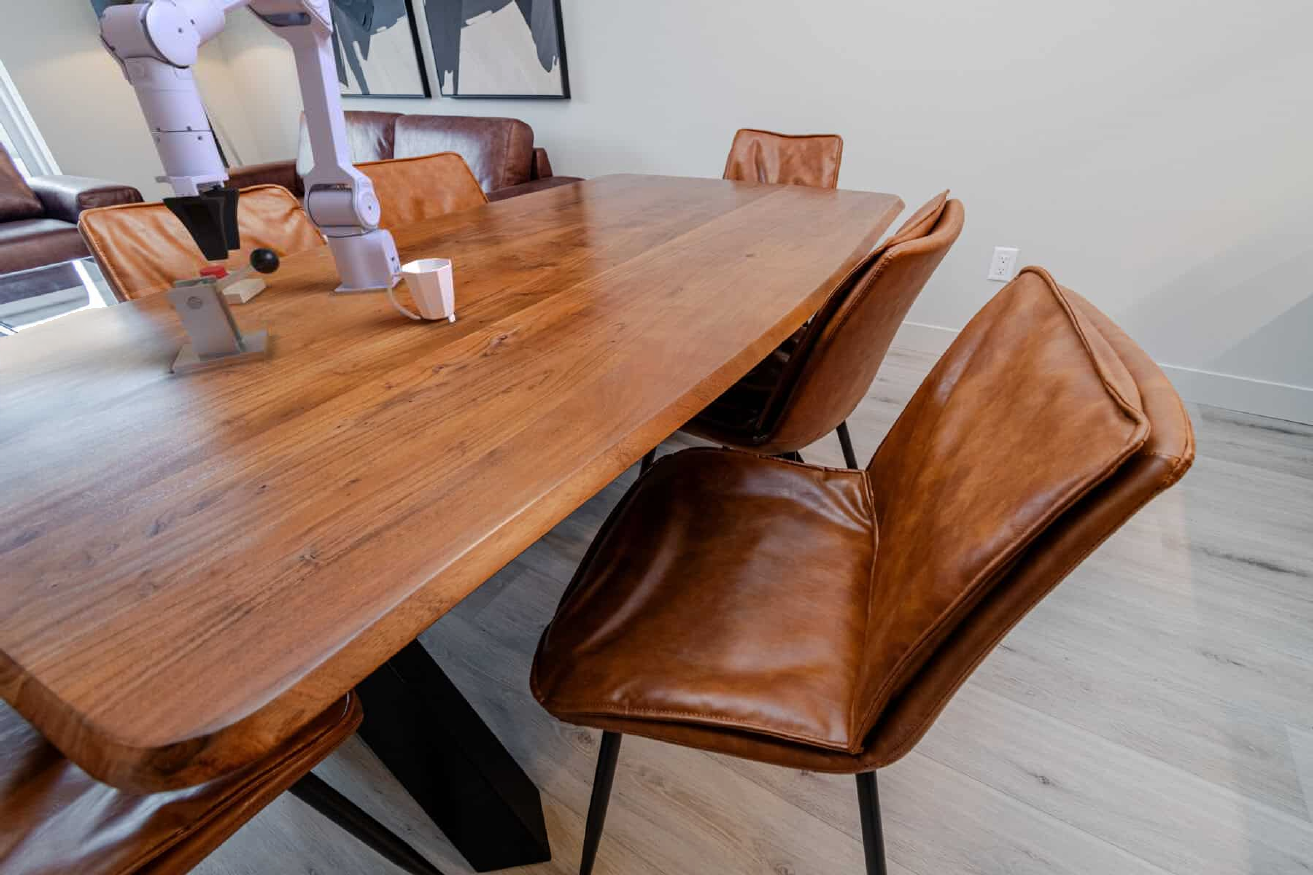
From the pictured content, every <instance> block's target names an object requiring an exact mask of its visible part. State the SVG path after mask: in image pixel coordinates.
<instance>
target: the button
mask: <svg viewBox="0 0 1313 875" xmlns="http://www.w3.org/2000/svg"><path fill="white" fill-rule="evenodd" d="M226 271H227V270H226V266H224V265H212V266H207V267H204V268H201V269H199V270H198V273H199V276H201V277H203V276H210V275H215V276H216V278H217V280H218V279H222V278H224V277H226V276H227V275H228V274H227V272H226Z"/></svg>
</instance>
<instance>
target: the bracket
mask: <svg viewBox="0 0 1313 875" xmlns="http://www.w3.org/2000/svg"><path fill="white" fill-rule="evenodd" d="M201 281H203V282H204V283H205V284H202V285H196V284H197V283H199V282H201ZM216 281H218V280H217V278H216V276H215V275H210V276H203V277H199V276H197V277H192V278H185V279H178V280H174V281H173V286H174V288H171V289H170V288H169V289H168V290H167V291H166V294H167V296H168V298H169V300H170V302H171V303H172V306H173V308H174V309H175V312H176V314H177V316H178V317H179V320H180V322H181V323H182V326H183V328H184V329H185V332H186V334H187V336H188V338H189V339H190V342H191V343H187V344H183V345H182V347H181V348H180V351H179V352H178V354H177V356H176V358H175V361H174V362H173V364H172V366H171V370H172V371H173V373H174V374H178V373H183V372H190V371H194V370H198V369H204V368H208V367H209V368H210V367H214V366H219V365H224V364H229V363H234V362H239V361H240V362H241V361H244V360H250V359H254V358H259V357H260V358H261V357H265V356H266V353H267V349H268V344H269V339H270V333H269V331H268V329H263V330H259V331H258V330H257V331H253V332H247V333H243V334H242V332H241V329H240V328H239V327H240V326H239V325H238V322H237V321H236V318H235V316H234V314H233V311H232V310H231V307H230V304H228V303H227V300H226V298H225V296H224V294H223V292H222V291H220V292H218V293H216V294H215V292H214V290H213V288H212V285H211V284H213V283H214V282H216ZM194 285H195V286H194Z"/></svg>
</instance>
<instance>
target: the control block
mask: <svg viewBox="0 0 1313 875" xmlns="http://www.w3.org/2000/svg"><path fill="white" fill-rule="evenodd" d="M235 271H236V270H235ZM235 271H234V270H226V272H227V274H228V275H229V274H231V273H233V272H235ZM198 277H201V276H200V275H199V276H198ZM218 280H220V279H218ZM265 289H266V284H265V282H264V279H263V278H262V277H259V278H256V277H255V278H244V279H242V280H240V281H238V282H236V283H234V284H233V285H231V286H229V287H227V288H225V289H223V290H222V292H223V294H224V296H225V298H226V300H227V303H228V305H238V304H239V305H240V304H245V303H246V302H247V301H249V300H250V299H252V298H253V297H255V296H256V295H257V294H259V293H261V291H264V290H265Z"/></svg>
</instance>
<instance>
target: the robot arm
mask: <svg viewBox="0 0 1313 875" xmlns="http://www.w3.org/2000/svg"><path fill="white" fill-rule="evenodd" d="M242 7H244V8H245V9H246V10H247V11H248V12H249V13H251V15H253V16H254V17H255V18H256V19H257V20H258V21H259V22H260V23H262V25H264V26H265V27H266V28H267V29H268V30H270V31H271V32H272V33H273V34H274V35H275V36H277V37H278V38H281V39H283V40H285V41H286V42H287V43H288V44H289V45H290V47H291V48H292V50H293V51H292V52H293V57H294V61H295V67H296V72H297V78H298V84H299V88H300V94H301V99H302V105H303V110H304V114H305V115H304V116H305V121H306V126H307V131H308V137H309V142H310V147H311V154H312V159H313V167H312V169H311V170H310V171H309V172H308V173H307V174H306V175H305V177H304V178H303V186H304V197H303V209H304V214H305V215H306V217H307V219H308V221H309V222H310V224H311V225H312V226H313V227H314V228H316V229H318V230H319V231H320V234H321V235H325V237H326V239H327V243H328V245H329V248H330V252H331V254H332V257H333V259H334V260H333V261H334V263H335V266H336V269H337V272H338V276H339V278H340V281H341V284H340V285H339V286H338V287H336V288H335V289H334V292H335V293H340V292H342V293H343V292H353V291H368V290H380V289H381V290H382V289H387V282H388V280H389V278H390V276H391V275H393V274H395V273H398V272H401V267H402V264H401V261H400V258H399V254H398V250H397V247H396V242H395V240H394V237H393V235H392V233H391V232H390V231H389V230H388V229H378V224H379V222H380V219H381V206H380V203H379V200H378V198H377V196H376V194H375V190H374V187H373V181H372V179H371V178H370V177H368V176H367V175H365V174H364V173H363V172H361V171H360V170H359V169H357V168H356V167H355V166H353V161H352V160H353V159H352V154H351V149H350V143H349V137H348V131H347V130H348V129H347V125H346V120H345V112H344V107H343V101H342V94H341V88H340V81H339V76H338V72H337V70H338V69H337V65H336V64H337V63H336V59H335V58H336V57H335V53H334V45H333V41H332V34H333V32H334V27H333V22H332V16H331V8H330V3H329V0H134V1H133V2H132V3H131V4H119V5H110V6H108V7H106V8H105V9H104V10H103V12H102V14H101V15H102V16H101V18H100V21H99V29H100V33H98V34H97V37H98V40H99V41H100V44H101V45H102V46H103V48H104V49H105V51H106V52H107V53H108V54H109V56H110V57H111V58H112V59H113V60H114V61H115V62H116V63H117V64H118V66H119V67H120V69H121V72H122V75H123V77H124V80H127V82H128V84H129V85H130V86H132V88H133V90H134V92H135V95H136V98H137V101H138V104H139V107H140V109H141V111H142V114H143V117H144V119H145V122H146V125H147V127H148V130H149V133H150V135H151V138H152V141H153V143H154V145H155V146H154V147H155V148H156V151H157V154H158V157H159V159H160V163H161V164H162V167H163V170H164V173H165V175H156V176H154V180H155V183H156V184H162V183H163V184H164V183H165V184H167V185H168V184H169V185H171V187H172V190H173V192H174V195H175V196H172V197H164V198H162V202H163V205H164V206H165V207H166V208H167V209H168V211H170V212H171V213H172V214H173V215H174V216H175V217H176V218H177V219H178V220H179V222H181V224H182V225H183V226H184V227H185V229H186V230H187V232H188V233H189V235H190V236H191V238H192V239H193V241H194V242H195V245H197V247H198V249H199V251H200V252H201V254H202V255H203V256H204V258H205V260H206V261H207V262H213V261H215V262H216V261H224V260H225V261H226V260H229V258H230V257H229V251H239V250H241V236H240V229H239V228H240V227H239V220H238V205H239V201H240V196H241V192H240V189H239V188H225V187H226V186H225V184H224V182H225V181H229V180H230V178H229V174H228V173H227V172H225V169H224V166H223V162H222V160H221V157H220V152H219V150H218V148H217V144H216V142H215V138H214V136H213V132H212V129H211V127H210V124H209V120H208V117H207V114H206V111H205V109H204V106H203V102H202V100H201V96H200V93H199V90H198V88H197V85H196V82H195V78H194V76H193V72H192V70H191V66H190V65H192V66H193V65H195V64H196V62H197V61H198V60H197V59H198V54H199V53H198V49H200V48H201V47H202V46H204V45H206V44H208V43H209V42H210V41H212V40H214V39H215V38H217V37H218V36H220V35H221V34H222V33H223V32H224V31H225V29H226V22H227V21H226V15H228V14H230V13H232V12H234V11H236V10H238V9H240V8H242ZM336 186H348V187H336ZM402 279H403V278H401V277H394V278H393V280H392V282H391V287H392V288H394V287H395V286H396V284H398V282H399V281H401V280H402Z"/></svg>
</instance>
